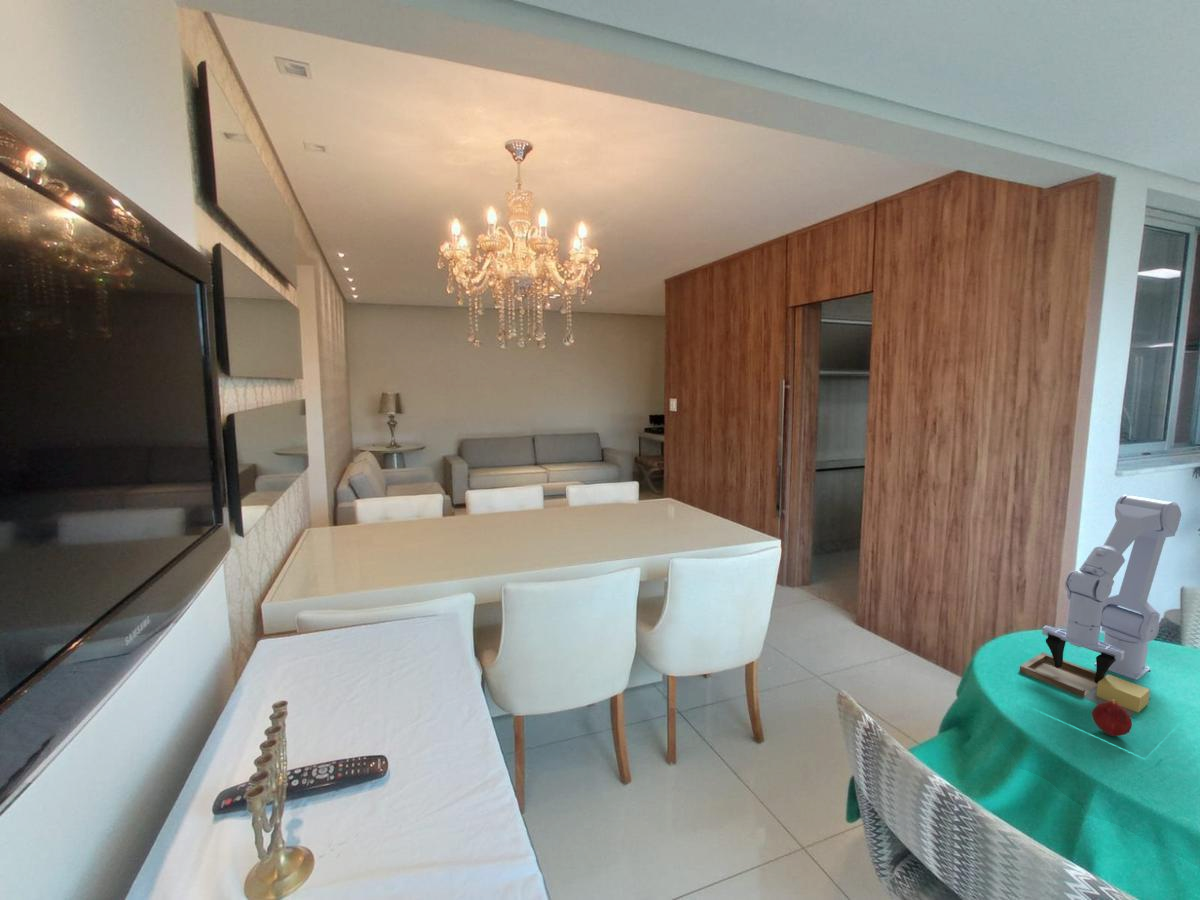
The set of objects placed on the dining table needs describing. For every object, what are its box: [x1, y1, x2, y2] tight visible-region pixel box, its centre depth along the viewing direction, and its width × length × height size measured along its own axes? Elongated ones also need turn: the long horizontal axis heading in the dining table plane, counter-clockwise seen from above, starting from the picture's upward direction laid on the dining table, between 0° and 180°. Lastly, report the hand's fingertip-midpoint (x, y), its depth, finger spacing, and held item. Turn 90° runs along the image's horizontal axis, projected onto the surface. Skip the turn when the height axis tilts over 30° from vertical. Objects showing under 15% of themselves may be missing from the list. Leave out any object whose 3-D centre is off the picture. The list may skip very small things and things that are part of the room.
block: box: [1096, 674, 1151, 713], centre depth 118 cm, size 6×7×4 cm
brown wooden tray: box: [1019, 651, 1105, 698], centre depth 128 cm, size 12×12×2 cm
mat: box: [1082, 686, 1151, 718], centre depth 119 cm, size 12×8×1 cm, turn 119°
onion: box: [1091, 699, 1133, 737], centre depth 107 cm, size 6×6×8 cm
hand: (1077, 674), depth 125 cm, fingers open, 7 cm apart
